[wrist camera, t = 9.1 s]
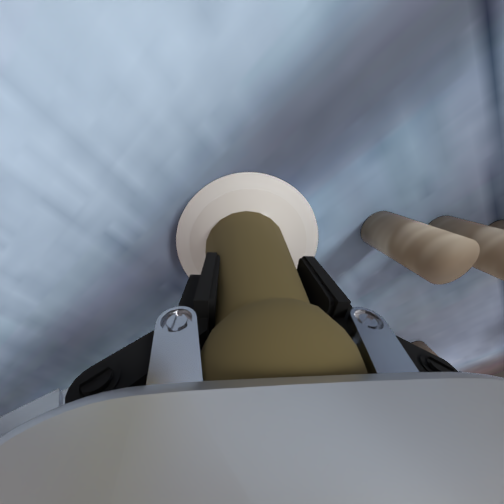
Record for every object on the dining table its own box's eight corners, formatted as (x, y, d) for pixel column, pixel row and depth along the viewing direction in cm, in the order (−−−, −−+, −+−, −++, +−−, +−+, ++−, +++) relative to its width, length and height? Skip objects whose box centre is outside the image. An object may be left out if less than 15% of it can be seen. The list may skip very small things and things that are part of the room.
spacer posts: (368, 209, 15) (443, 236, 10) (517, 220, 17) (650, 248, 12) (313, 359, 23) (337, 419, 18) (417, 355, 25) (468, 408, 20)
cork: (291, 268, 15) (408, 458, 6) (223, 292, 16) (223, 516, 6) (274, 198, 13) (448, 336, 3) (190, 227, 13) (84, 456, 3)
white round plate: (173, 164, 12) (167, 164, 11) (328, 178, 14) (336, 180, 13) (184, 295, 17) (181, 304, 16) (298, 296, 18) (302, 304, 17)
